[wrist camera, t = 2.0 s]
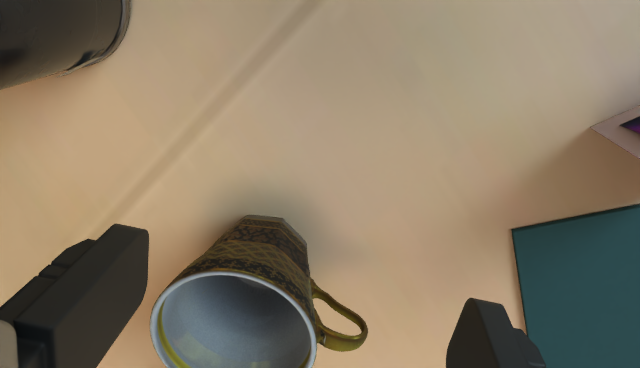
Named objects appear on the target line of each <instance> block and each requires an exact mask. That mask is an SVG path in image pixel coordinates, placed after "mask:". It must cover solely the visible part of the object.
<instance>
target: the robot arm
mask: <svg viewBox="0 0 640 368" xmlns="http://www.w3.org/2000/svg"><path fill="white" fill-rule="evenodd" d="M129 18H130V0H0V90H2V89H5V88H8V87H12V86H15V85H19V84H22V83H26V82H29V81H32V80H36V79H39V78H43V77H46V76H50V75H53V74H57V73H60V72H63V71H67V70H68V72H66V73H64V74H62V75H60V76H64V75H67V74H69V73H71V72H73V71H75V70H77V69H79V68H82V67H86V66H89V65H93V64H95V63H98V62H100V61H102V60H104V59H105V58H106V57H108V56H109V55H110V54H111V53H113V52H114V50H115V49H116V48H117V47H118V46H119V44H120V43H121V41H122V39H123V37H124V35H125V33H126V30H127V27H128V23H129ZM69 70H70V71H69ZM60 76H58V77H60ZM56 78H57V77H56ZM148 251H149V234H148V231H147V230H145V229H140V228H135V227H131V226H126V225H121V224H114V225H112V226H111V227H110V228H109V229H108V230H107V231H106V232H105V233H104V234H103V235H102V236H101V237H99V238H98V239H97V240H91V239H87V240H84V241H82V242H80V243H78V244H76V245H73V246H71V247H69V248H67V249H66V250H64V251H63V252H62V253H61V254H60V255H59V256H58V257H57V258H55V259H54V260H53V261H52V263H51V265H48V266H46V267H45V268H44V269H43V270H42V271H41V272H40V273H39V275H38V276H35V277H34V278H33V279H32V280H31V281H29V282H28V283H27V284H26V285H25V286H24V287H23V288H22V289H20V290H19V291H18V292H17V293H16V294H15V295H14V296H13V297H11V298H10V299H9V300H8V301H7V302H6V303H5V304H3V305H2V306H1V307H0V368H96V367H97V366H98V364H99V363H100V361H101V360H102V359H103V357H104V356H105V354H106V353H107V351H108V350H109V349H110V347H111V346H112V344H113V343H114V341H115V340H116V339H117V337H118V336H119V334H120V333H121V331H122V330H123V328H124V327H125V326H126V324H127V323H128V321H129V320H130V318H131V317H132V316H133V314H134V313H135V311H136V310H137V308H138V307H139V305H140V304H141V302H142V300H143V297H144V294H145V291H146V287H147V280H148ZM446 368H546V364H545V362H544V360H543V358H542V356H541V353H540V351H539V349H538V347H537V346H536V345H535V344H534V343H533V342H532V341H531V340H530V338H529V337H528V336H527V335H526V334H525V333H524V332H523V331H522V330H521V329H516V328H513V326H512V324H511V322H510V320H509V317H508V315H507V313H506V310H505V308H504V306H503V305H502V304H498V303H494V302H489V301H484V300H479V299H474V298H469V299H468V300H467V301H466V303H465V305H464V307H463V310H462V312H461V315H460V318H459V320H458V323H457V325H456V328H455V330H454V333H453V335H452V338H451V340H450V343H449V346H448V349H447V355H446Z"/></svg>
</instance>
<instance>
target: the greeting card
mask: <svg viewBox="0 0 640 368" xmlns="http://www.w3.org/2000/svg"><path fill="white" fill-rule="evenodd" d="M590 128H591V129H593V130H595V131H596V132H598V133H599V134H601V135H602V136H604V137H606V138H607V139H609V140H610V141H612V142H614V143H615V144H617V145H618V146H620V147H622V148H623V149H625V150H626V151H628V152H629V153H631V154H633V155H634V156H636V157H637V158H639V159H640V105H639V106H637V107H635V108H632V109H630V110H628V111H626V112H623V113H621V114H619V115H617V116H614V117H612V118H610V119H608V120H606V121H603V122H601V123H599V124H597V125H594V126H592V127H590Z"/></svg>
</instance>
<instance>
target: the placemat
mask: <svg viewBox="0 0 640 368" xmlns="http://www.w3.org/2000/svg"><path fill="white" fill-rule="evenodd" d="M512 237H513V244H514V250H515V257H516V264H517V270H518V277H519V284H520V290H521V297H522V304H523V311H524V317H525V324H526V331H527V336H528V337H529V338H530V340H531V341H532V342H533V343H534V344H535V345H536V346H537V347H538V349H539V351H540V353H541V356H542V358H543V360H544V362H545V364H546V368H640V204H638V205H633V206H628V207H623V208H618V209H613V210H608V211H603V212H598V213H593V214H588V215H583V216H578V217H573V218H567V219H562V220H557V221H552V222H547V223H542V224H537V225H532V226H527V227H522V228H517V229H512Z"/></svg>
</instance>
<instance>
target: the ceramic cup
mask: <svg viewBox="0 0 640 368" xmlns="http://www.w3.org/2000/svg"><path fill="white" fill-rule="evenodd" d="M313 298H319V299H321V300H323V301H325V302H326V303H327V304H328V305H329V306H330V307H331V308H333V309H334V310H335V311H337V312H338V313H340V314H341V315H343V316H345V317H346V318H348V319H349V320H351V321H353V322H354V323H355V324H357V325H358V326H359V327H360V329H361V331H362V333H361V334H359V335H356V336H348V335H344V334H341V333H338V332H335V331H333V330H331V329H329V328H327V327H326V326H324V325H323V324H322V322H321V320H320V318H319V316H318V314H317V311H316V310H315V308H314V305H313V300H312V299H313ZM150 334H151V339H152V342H153V345H154V348H155V350H156V352H157V354H158V356H159V357H160V359H161V360H162V362H163V363H164V364H165V366H166V367H167V368H312V366H313V364H314V361H315V358H316V351H317V343H320V344H321V345H323V346H324V347H326V348H329V349H331V350H335V351H341V352H343V351H351V350H355V349H357V348H359V347H360V346H361V345H362V344H363V343H364V341H365V339H366V337H367V334H368V328H367V325H366V323H365V321H364V320H363V319H362V318H361V317H360V316H359V315H358V314H356V313H355V312H353V311H351V310H350V309H348V308H346V307H345V306H343V305H341V304H340V303H338V302H337V301H336V300H334V299H333V298H332V297H331V296H330V295H329V294H328V293H326V292H324V291H323V290H321V289H320V288H319V287H318V286H317V285H316V284H315V282H314V280H313V279H311V277H310V270H309V264H308V257H307V244H306V242H305V240H304V239H303V238H302V237H301V236H300V235H299V234H298V233H297V232H296V231H295V230H294V229H293V228H292V227H291V226H290V225H289V224H288V223H287V222H286V221H285V220H284V219H282V218H276V217H266V216H255V215H247V216H246V217H244V218H243V219H242V220H240V221H239V222H238V223H237V224H235V225H234V226H233V227H232V228H230V229H229V230H228V231H227V232H225V233H224V234H223V235H222V236H221V237H220V238H219V239H218V240H217V241H216V242H215V243H214V244H213V245H212V246H211V247H210V248H209V249H208V250H207V251H206V252H205V253H204V254H203V255H202V256H200V257H199V258H198V259H196V260H195V261H194V262H192V263H191V264H190V265H189V266H188V267H187V268H186V269H184V270H183V271H182V272H181V273H180V274H179V275H178V276H177V277H176V278H175V279H174V280H173V281H172V282H171V283H170V284H169V285H168V286H167V287H166V289H165V290H164V291H163V292H162V293H161V294H160V296H159V297H158V299H157V300H156V302H155V304H154V306H153V309H152V313H151V317H150Z"/></svg>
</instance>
